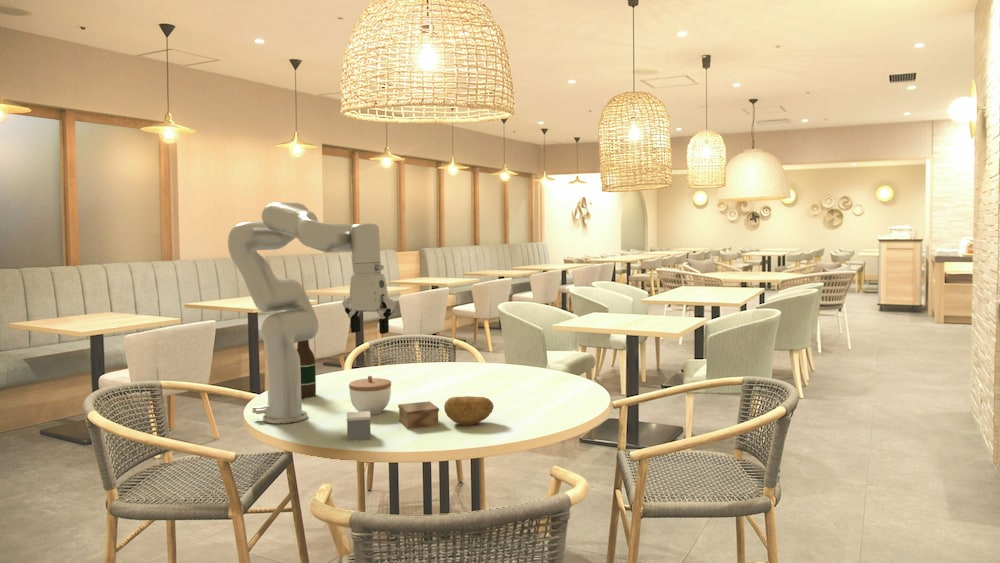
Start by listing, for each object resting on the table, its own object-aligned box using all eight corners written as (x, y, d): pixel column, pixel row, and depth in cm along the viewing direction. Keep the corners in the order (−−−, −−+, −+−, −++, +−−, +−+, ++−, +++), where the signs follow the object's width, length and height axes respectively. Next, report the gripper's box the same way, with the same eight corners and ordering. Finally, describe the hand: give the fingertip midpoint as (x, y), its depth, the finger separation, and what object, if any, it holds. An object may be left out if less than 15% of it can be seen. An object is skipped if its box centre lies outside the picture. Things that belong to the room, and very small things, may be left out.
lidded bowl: (400, 411, 224) (399, 375, 223) (365, 419, 215) (364, 382, 214) (375, 404, 233) (374, 370, 232) (341, 412, 224) (340, 376, 223)
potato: (496, 427, 205) (495, 399, 205) (445, 429, 203) (445, 401, 203) (491, 418, 215) (491, 391, 214) (443, 420, 213) (442, 393, 212)
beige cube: (347, 441, 193) (346, 418, 193) (347, 435, 199) (346, 412, 199) (371, 440, 195) (370, 416, 194) (370, 433, 201) (369, 411, 200)
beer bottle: (299, 393, 251) (297, 323, 249) (320, 393, 249) (318, 323, 248) (288, 398, 243) (286, 326, 242) (310, 399, 242) (308, 326, 240)
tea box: (406, 430, 204) (406, 411, 204) (398, 422, 213) (398, 404, 212) (439, 426, 208) (438, 408, 207) (429, 418, 216) (429, 401, 216)
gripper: (401, 268, 196) (404, 331, 198) (351, 269, 205) (353, 330, 206) (384, 270, 190) (387, 335, 191) (332, 270, 198) (335, 333, 199)
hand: (369, 332), depth 198 cm, fingers open, 9 cm apart
